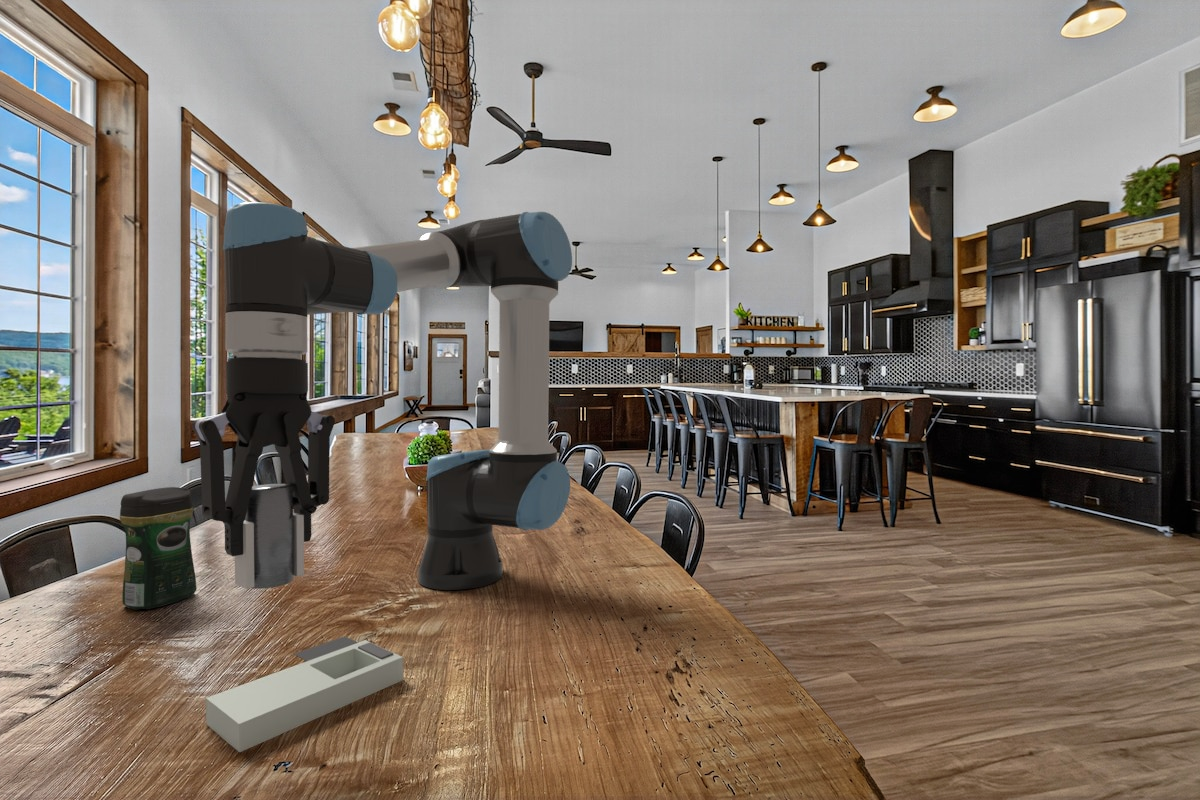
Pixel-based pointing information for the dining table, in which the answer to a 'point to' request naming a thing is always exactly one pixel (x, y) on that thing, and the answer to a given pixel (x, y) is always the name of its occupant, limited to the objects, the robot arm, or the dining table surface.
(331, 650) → the mat
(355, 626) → the dining table surface
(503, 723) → the dining table surface
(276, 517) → the barrel peg
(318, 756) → the dining table surface
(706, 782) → the dining table surface
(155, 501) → the coffee jar
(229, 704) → the slotted holder block
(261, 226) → the robot arm
